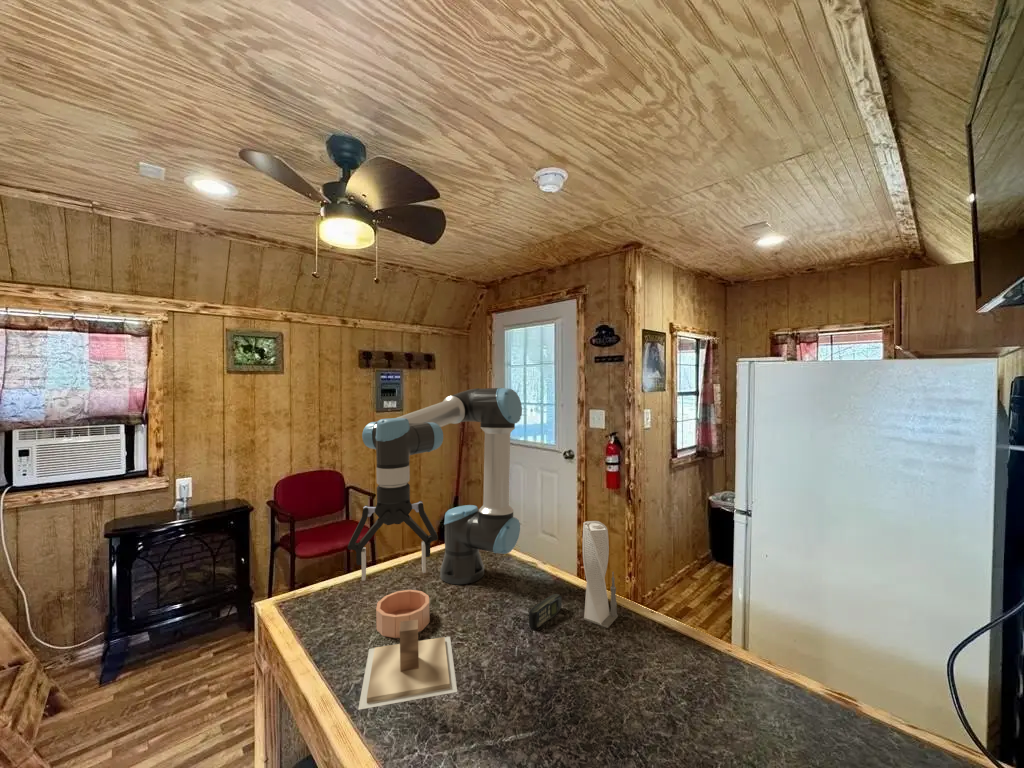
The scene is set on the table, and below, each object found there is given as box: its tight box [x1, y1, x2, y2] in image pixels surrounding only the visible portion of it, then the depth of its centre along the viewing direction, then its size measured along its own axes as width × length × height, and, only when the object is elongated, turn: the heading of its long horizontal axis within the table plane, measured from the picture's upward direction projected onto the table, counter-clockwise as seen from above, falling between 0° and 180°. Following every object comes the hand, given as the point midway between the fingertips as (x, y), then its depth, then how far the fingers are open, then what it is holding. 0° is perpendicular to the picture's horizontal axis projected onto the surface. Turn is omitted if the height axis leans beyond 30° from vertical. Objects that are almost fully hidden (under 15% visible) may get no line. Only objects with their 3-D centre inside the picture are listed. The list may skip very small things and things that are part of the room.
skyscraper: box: [582, 520, 619, 629], centre depth 116 cm, size 8×8×28 cm
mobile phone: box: [528, 593, 563, 631], centre depth 117 cm, size 5×3×15 cm
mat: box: [358, 636, 458, 711], centre depth 96 cm, size 20×20×1 cm
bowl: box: [375, 589, 431, 639], centre depth 115 cm, size 14×14×6 cm
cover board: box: [367, 619, 450, 703], centre depth 96 cm, size 17×17×10 cm
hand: (394, 574), depth 98 cm, fingers open, 13 cm apart
